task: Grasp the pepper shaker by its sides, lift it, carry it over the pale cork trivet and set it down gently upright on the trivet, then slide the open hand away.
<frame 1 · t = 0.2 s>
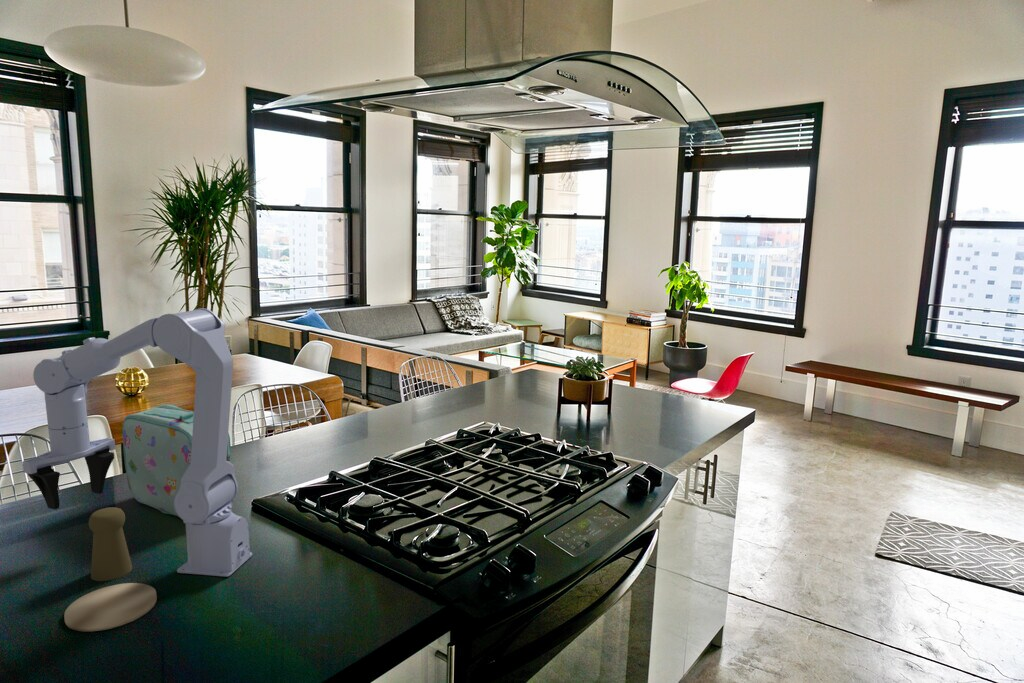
hand: (76, 499, 116), 10 cm above the kitchen island, tool pointing down, fingers open, 7 cm apart
cork trivet: (112, 608, 100), on the kitchen island
pepper shaker: (111, 573, 111), on the kitchen island
lunch box: (183, 507, 138), on the kitchen island
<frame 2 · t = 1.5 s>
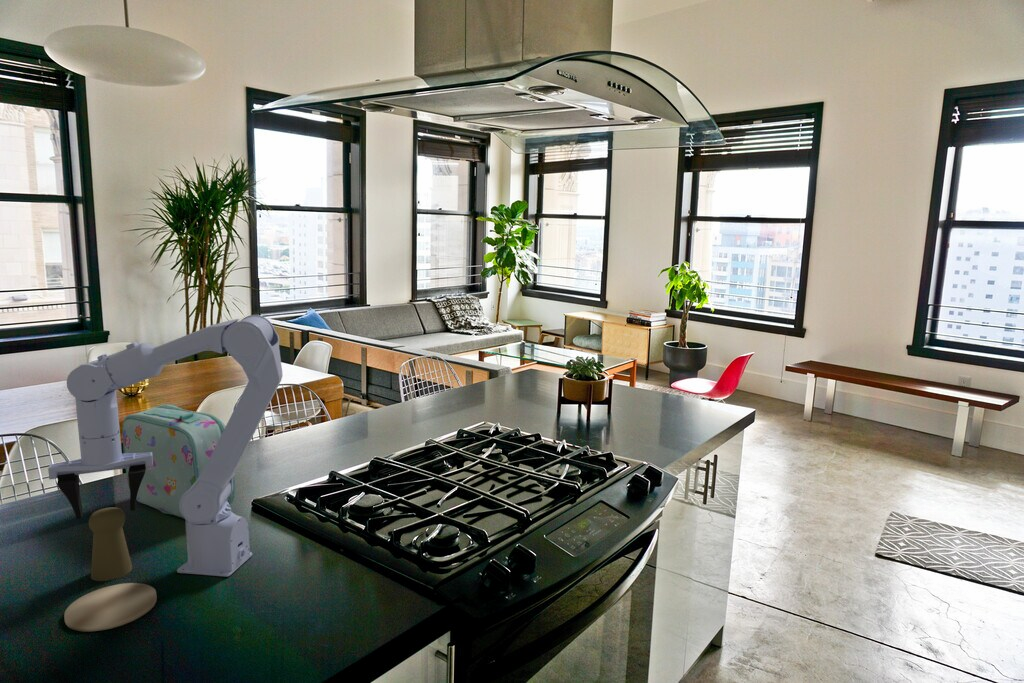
hand: (106, 512, 110), 10 cm above the kitchen island, tool pointing down, fingers open, 7 cm apart
nothing on the kitchen island moved.
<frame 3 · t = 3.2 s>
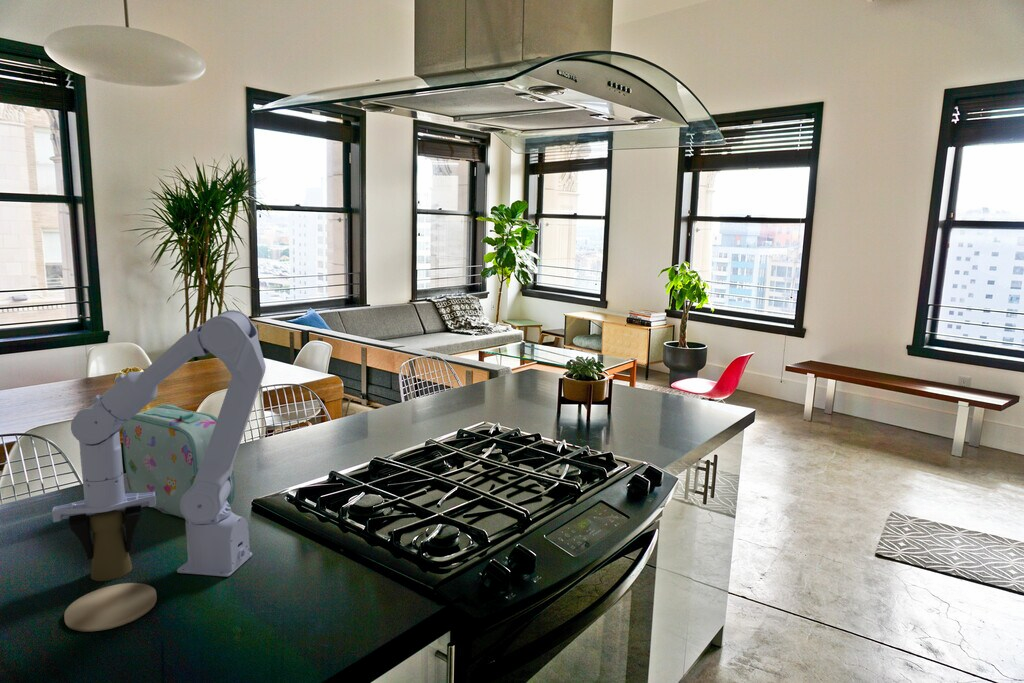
hand: (110, 552, 111), 3 cm above the kitchen island, tool pointing down, fingers closed on pepper shaker, 5 cm apart
pepper shaker: (111, 573, 111), on the kitchen island, touching gripper
everything else where it was.
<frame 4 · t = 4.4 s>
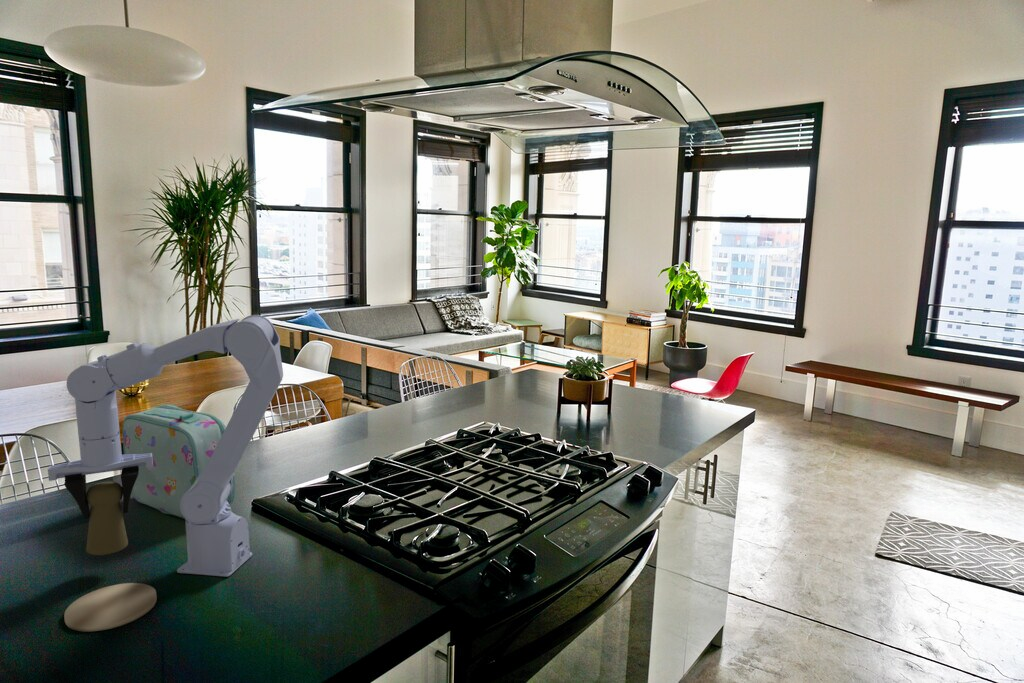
hand: (106, 513, 110), 10 cm above the kitchen island, tool pointing down, fingers closed on pepper shaker, 5 cm apart
pepper shaker: (107, 547, 111), point 4 cm above the kitchen island, touching gripper
everything else where it was.
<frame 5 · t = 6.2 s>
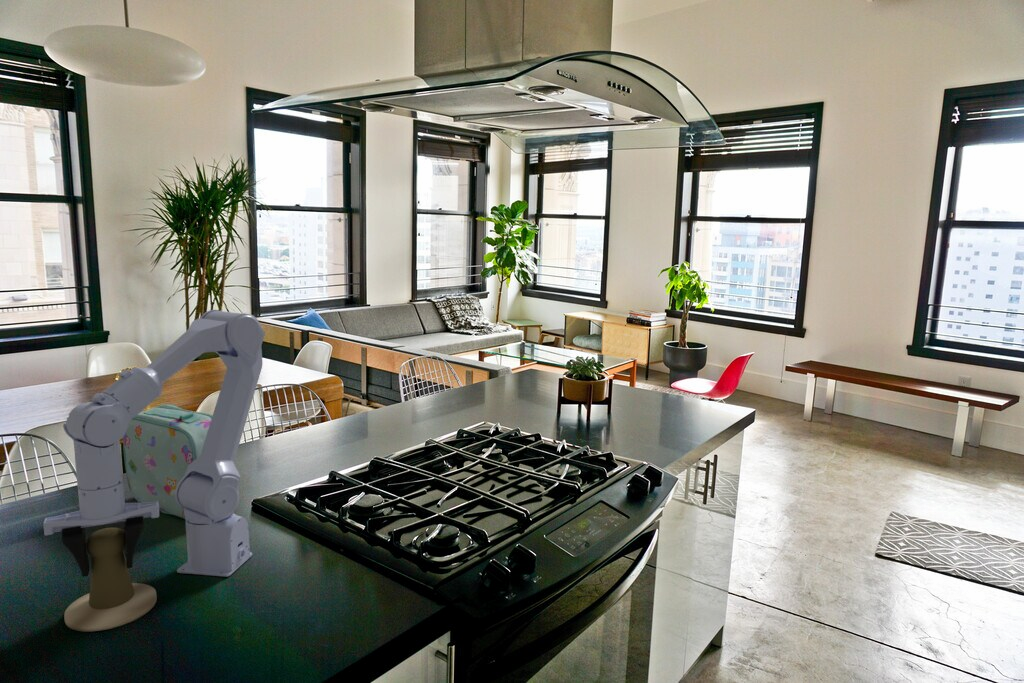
hand: (108, 569, 99), 6 cm above the kitchen island, tool pointing down, fingers closed on pepper shaker, 5 cm apart
pepper shaker: (112, 599, 102), point 1 cm above the kitchen island, touching cork trivet, gripper
everything else where it was.
when the fingers open (5 cm above the kitchen island, at t = 7.0 s): pepper shaker stays where it is, resting on cork trivet.
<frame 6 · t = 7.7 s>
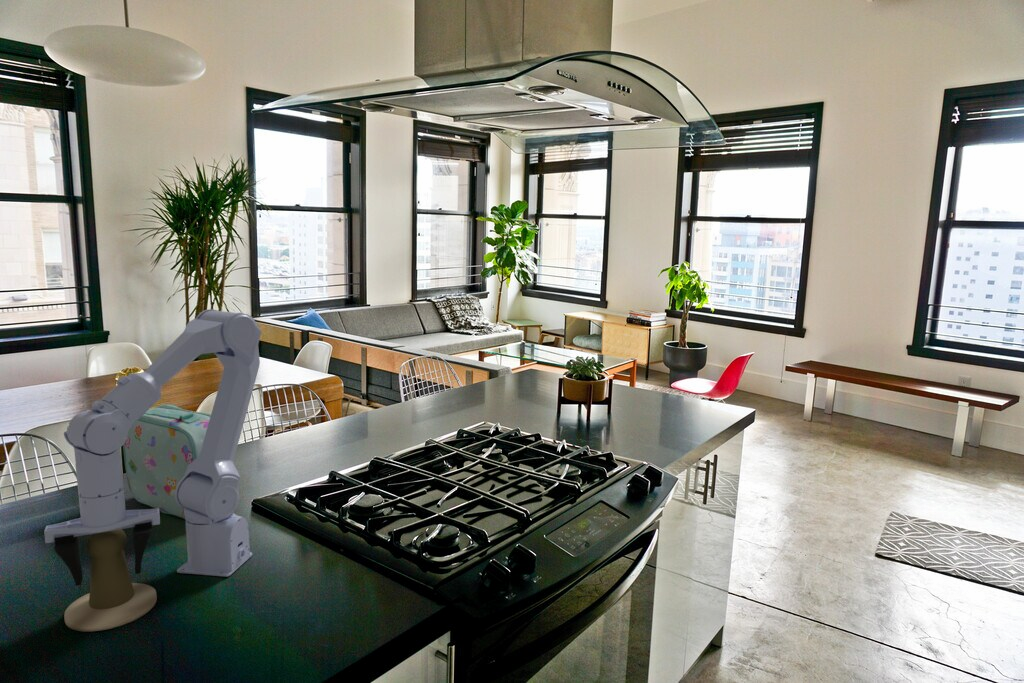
hand: (109, 576, 100), 5 cm above the kitchen island, tool pointing down, fingers open, 7 cm apart
pepper shaker: (112, 599, 102), point 1 cm above the kitchen island, touching cork trivet
everything else where it was.
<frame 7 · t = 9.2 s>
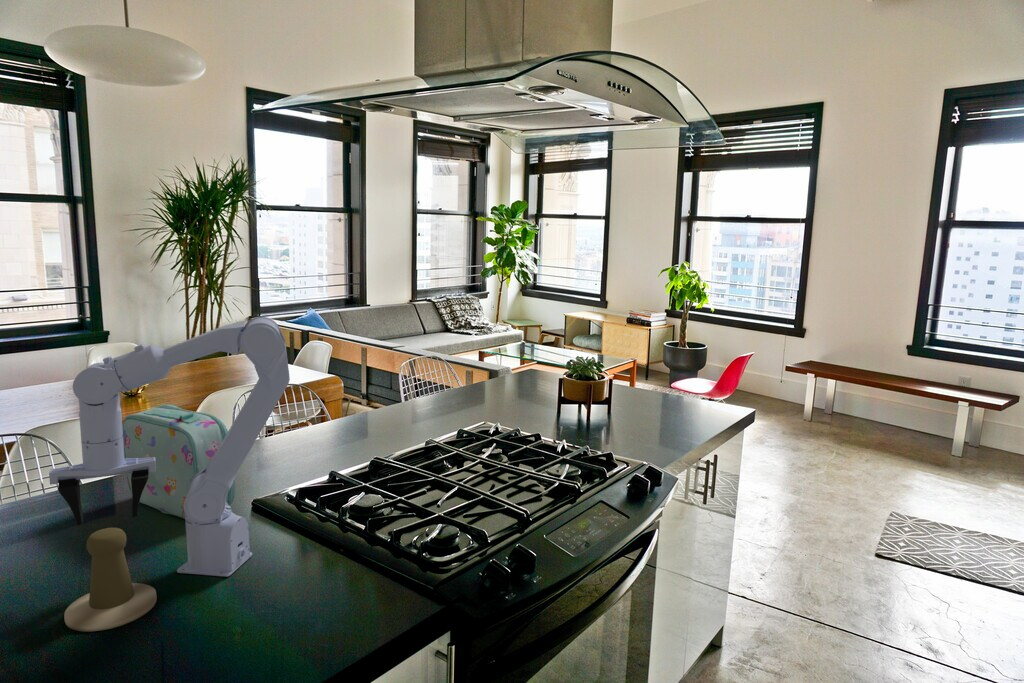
hand: (107, 518, 108), 10 cm above the kitchen island, tool pointing down, fingers open, 7 cm apart
nothing on the kitchen island moved.
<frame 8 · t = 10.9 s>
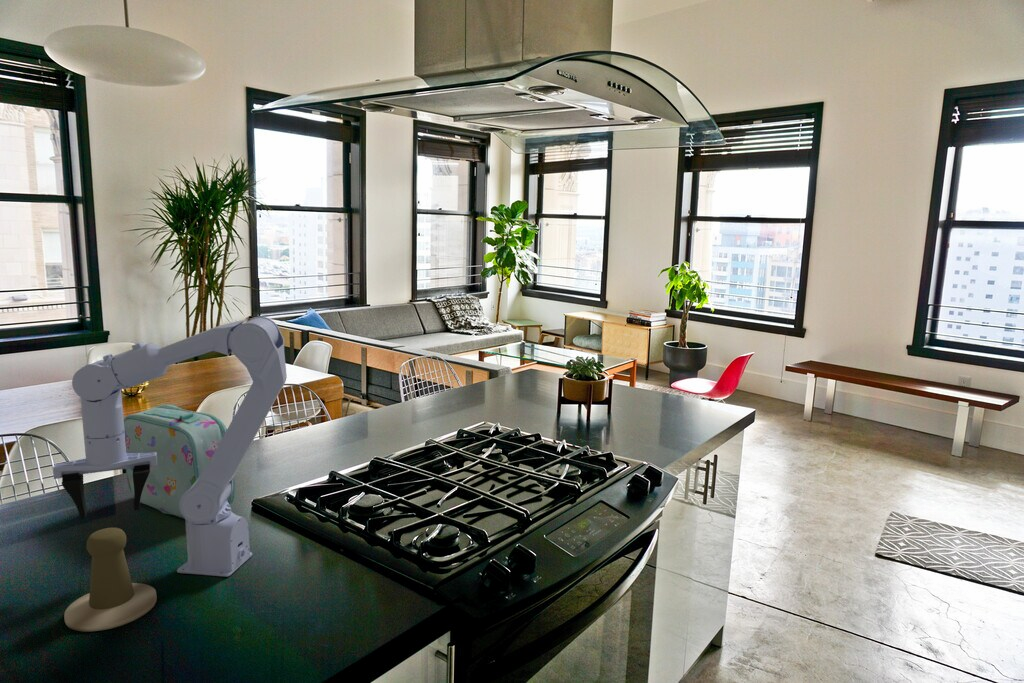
hand: (110, 512, 110), 10 cm above the kitchen island, tool pointing down, fingers open, 7 cm apart
nothing on the kitchen island moved.
at the end: pepper shaker 1.6 cm off-centre on the cork trivet, point 0.6 cm above the cork trivet's base; pepper shaker tilted 0°; the gripper is holding nothing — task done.
